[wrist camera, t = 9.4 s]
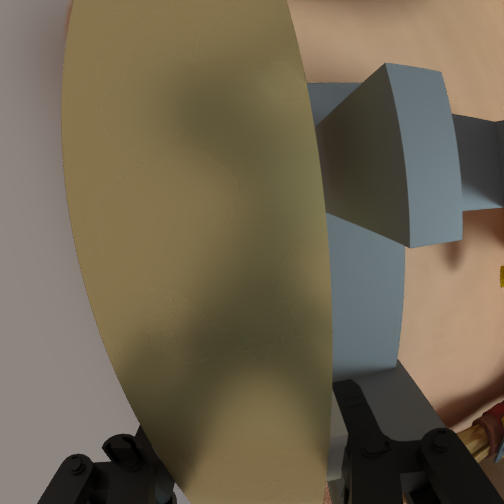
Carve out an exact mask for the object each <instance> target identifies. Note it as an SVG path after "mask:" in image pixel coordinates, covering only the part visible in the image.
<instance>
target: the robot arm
mask: <svg viewBox="0 0 504 504" xmlns="http://www.w3.org/2000/svg"><path fill="white" fill-rule="evenodd" d="M102 449H103V450H104V452H105V453H106V454H107V456H108V457H109V459H110V460H111V461H110V462H95V463H93V462H92V461H91V460H90V458H89V457H87V456H86V455H83V454H74V455H71V456H69V457H67V458H66V459H65V460H64V461H63V462H62V464H61V466H60V467H59V469H58V470H57V472H56V474H55V475H54V477H53V479H52V480H51V482H50V483H49V485H48V487H47V488H46V490H45V492H44V493H43V495H42V496H41V498H40V500H39V501H38V503H37V504H177V499H176V495H175V493H174V492H173V488H174V483H176V482H175V480H174V479H173V477H172V476H171V474H170V473H169V471H168V470H167V468H166V467H165V465H164V464H163V462H162V461H161V459H160V457H159V456H158V454H157V453H156V451H155V449H154V448H153V446H152V444H151V443H150V441H149V439H148V437H147V436H146V434H145V432H144V430H143V428H142V427H141V425H140V426H139V428H138V431H137V433H136V435H135V437H134V436H132V435H129V434H119V435H115V436H112V437H110V438H109V439H108V440H107V441H106V442H104V444H103V446H102ZM341 475H343V478H344V482H345V483H344V488H343V492H342V496H341V497H343V504H403V495H404V497H405V499H406V501H407V503H408V504H504V501H503V499H502V498H501V496H500V494H499V493H498V491H497V490H496V488H495V487H494V485H493V484H492V483H491V481H490V480H489V478H488V477H487V475H486V474H485V472H484V471H483V470H482V468H481V467H480V465H479V464H478V462H477V461H476V460H475V458H474V457H473V456H472V454H471V453H470V451H469V450H468V449H467V447H466V446H465V445H464V443H463V442H462V440H461V439H460V438H459V436H458V435H457V434H456V433H455V432H454V431H452V430H450V429H447V428H436V429H432V430H430V431H429V432H427V433H426V434H425V435H424V436H423V438H422V439H421V440H412V441H396V440H392V439H390V438H389V437H388V436H386V435H384V434H383V432H382V431H381V429H380V427H379V425H378V423H377V421H376V419H375V417H374V414H373V412H372V410H371V408H370V406H369V404H368V403H367V400H366V398H365V396H364V394H363V392H362V389H361V387H360V385H358V384H357V383H356V382H354V381H353V380H352V379H347V380H342V381H337V382H332V407H331V426H330V441H329V454H328V465H327V474H326V481H331V480H336V479H340V478H341ZM176 484H177V483H176ZM177 486H178V485H177ZM178 487H179V486H178ZM179 488H180V487H179ZM402 493H403V495H402Z"/></svg>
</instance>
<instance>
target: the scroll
mask: <svg viewBox="0 0 504 504" xmlns="http://www.w3.org/2000/svg"><path fill="white" fill-rule="evenodd" d="M456 434H457V435H458V436H459V438H460V439H461V440H462V442H463V443H464V445H465V446H466V447H467V449H468V450H469V451H470V453H471V454H472V456H473V457H474V458H475V460H476V461H477V462H480V461H481V460H482V459H483V458H485V459H487V458H489V457H491V456H493V455H494V454H495V453H497V454H496V456H495V458H494V461H493V462H494V463H497V462H498V461H499V460H500V459H501V458H504V400H503V401H502V402H501V403H498V404H496V405H495V406H493V407H492V408H491V409H489V410H488V411H486V412H484V413H483V415H482V416H481V417H480V418H478V419H476V420H474V421H473V423H472V426H471V427H469V428H467V429H465V430H463V431H461V432H458V433H456ZM402 495H403V493H402ZM403 502H404V503H406V504H408V503H407V501H406V499H405V497H404V495H403Z"/></svg>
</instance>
